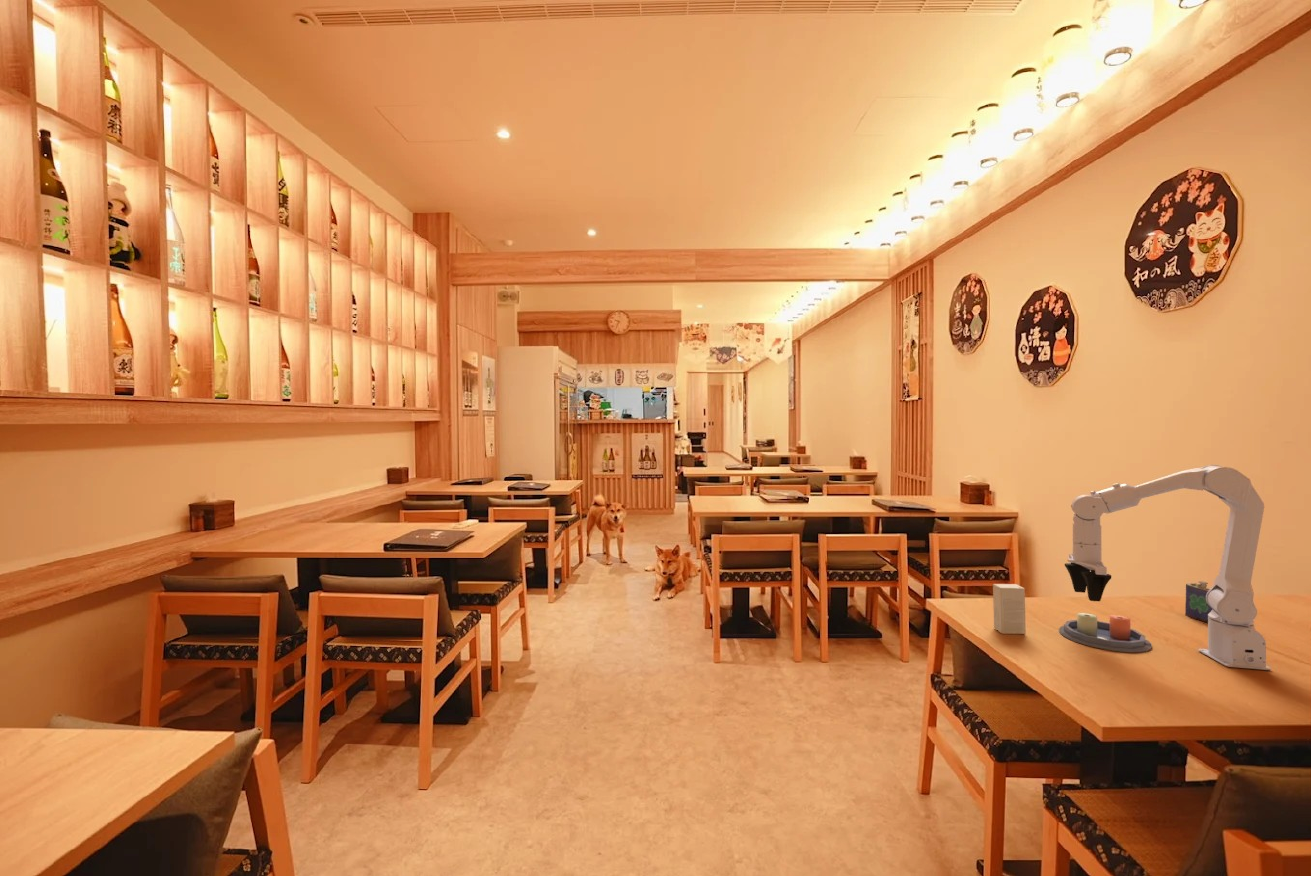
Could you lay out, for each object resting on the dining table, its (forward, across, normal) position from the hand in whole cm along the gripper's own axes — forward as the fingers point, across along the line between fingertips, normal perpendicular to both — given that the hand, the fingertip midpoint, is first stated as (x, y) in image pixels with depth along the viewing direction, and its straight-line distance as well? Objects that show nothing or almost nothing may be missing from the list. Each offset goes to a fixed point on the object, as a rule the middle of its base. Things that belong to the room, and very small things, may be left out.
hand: (1087, 596), depth 139 cm
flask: (+11, -22, +36) cm, 44 cm away
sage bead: (+10, 0, 0) cm, 10 cm away
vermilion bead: (+10, 0, +7) cm, 12 cm away
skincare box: (+11, 0, -18) cm, 20 cm away
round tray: (+10, 0, +4) cm, 11 cm away
